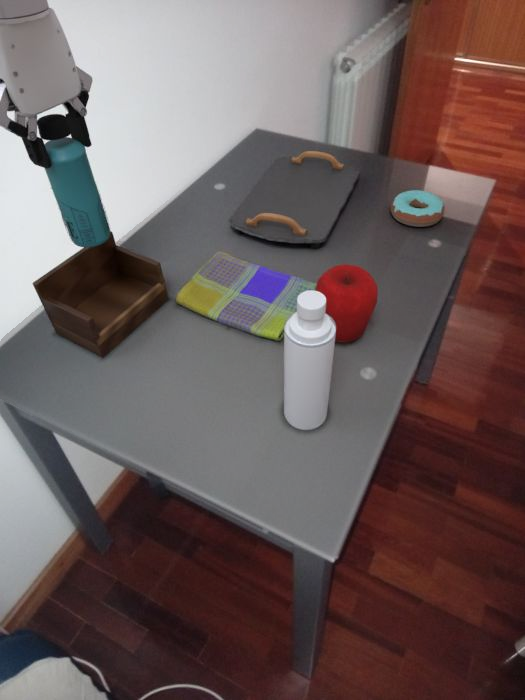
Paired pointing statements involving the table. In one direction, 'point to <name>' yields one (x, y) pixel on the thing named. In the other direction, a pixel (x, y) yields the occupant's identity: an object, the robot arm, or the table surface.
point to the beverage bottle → (73, 183)
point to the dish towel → (243, 295)
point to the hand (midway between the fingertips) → (63, 153)
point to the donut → (417, 208)
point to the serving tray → (297, 199)
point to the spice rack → (101, 295)
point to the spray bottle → (308, 361)
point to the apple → (348, 299)
